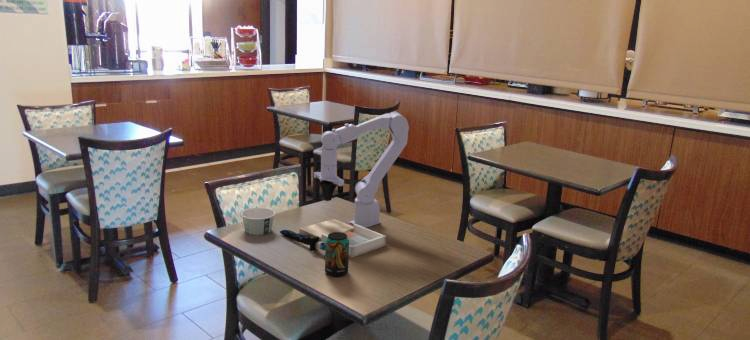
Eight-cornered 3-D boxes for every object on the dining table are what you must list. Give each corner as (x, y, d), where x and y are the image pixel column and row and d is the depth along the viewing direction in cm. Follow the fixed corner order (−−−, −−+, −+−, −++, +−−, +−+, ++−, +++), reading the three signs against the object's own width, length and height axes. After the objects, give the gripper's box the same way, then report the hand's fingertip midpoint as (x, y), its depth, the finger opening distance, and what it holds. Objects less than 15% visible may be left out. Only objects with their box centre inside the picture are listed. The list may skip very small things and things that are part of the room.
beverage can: (329, 279, 166) (330, 241, 163) (321, 269, 172) (322, 232, 169) (351, 275, 169) (352, 238, 166) (343, 266, 175) (344, 230, 172)
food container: (234, 228, 202) (234, 211, 200) (264, 222, 210) (264, 205, 208) (252, 239, 193) (252, 221, 192) (281, 231, 201) (282, 214, 199)
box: (355, 233, 203) (355, 223, 202) (385, 245, 193) (386, 235, 192) (321, 243, 192) (321, 234, 191) (351, 257, 182) (351, 247, 181)
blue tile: (358, 240, 194) (358, 235, 193) (367, 244, 191) (367, 239, 190) (348, 243, 191) (348, 238, 190) (357, 247, 188) (357, 242, 187)
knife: (341, 257, 179) (340, 243, 178) (333, 259, 177) (333, 245, 176) (286, 237, 201) (285, 225, 200) (279, 239, 199) (278, 227, 198)
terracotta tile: (349, 236, 197) (349, 231, 196) (358, 240, 194) (358, 235, 193) (339, 239, 194) (339, 234, 193) (348, 243, 191) (348, 238, 190)
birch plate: (333, 223, 211) (333, 218, 210) (355, 233, 203) (355, 227, 202) (299, 233, 200) (299, 228, 199) (321, 243, 192) (321, 238, 191)
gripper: (307, 162, 206) (307, 197, 210) (333, 170, 197) (332, 207, 200) (322, 159, 211) (321, 194, 215) (348, 167, 202) (347, 203, 205)
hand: (328, 200), depth 208 cm, fingers closed
